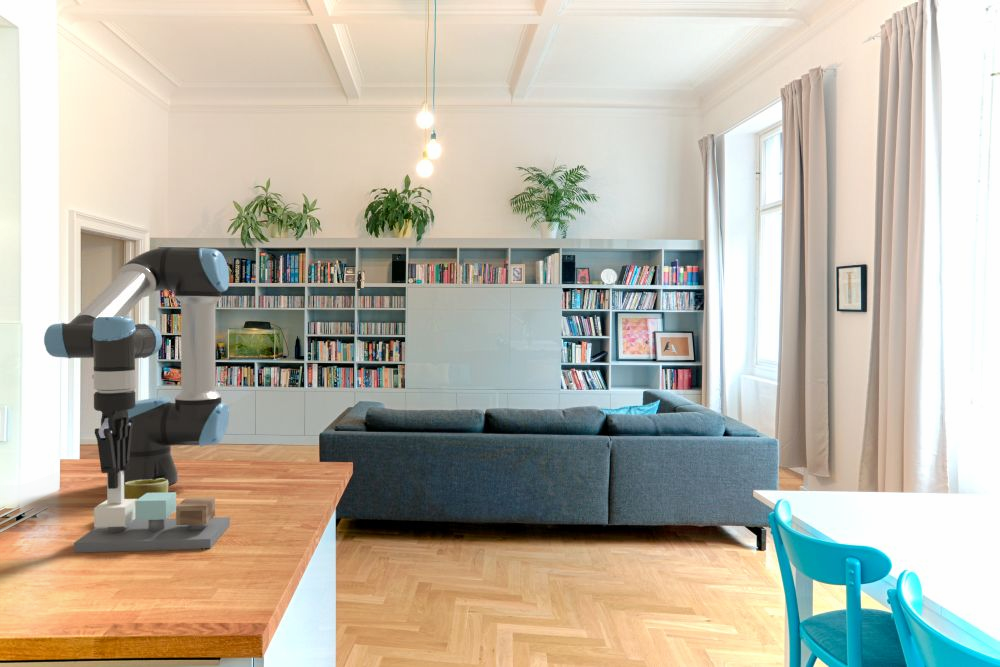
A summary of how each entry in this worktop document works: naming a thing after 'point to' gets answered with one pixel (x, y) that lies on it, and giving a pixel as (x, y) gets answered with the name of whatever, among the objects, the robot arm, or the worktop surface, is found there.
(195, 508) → the walnut key
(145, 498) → the teal key
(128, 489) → the mug
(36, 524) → the worktop surface
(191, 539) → the console
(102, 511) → the ivory key
